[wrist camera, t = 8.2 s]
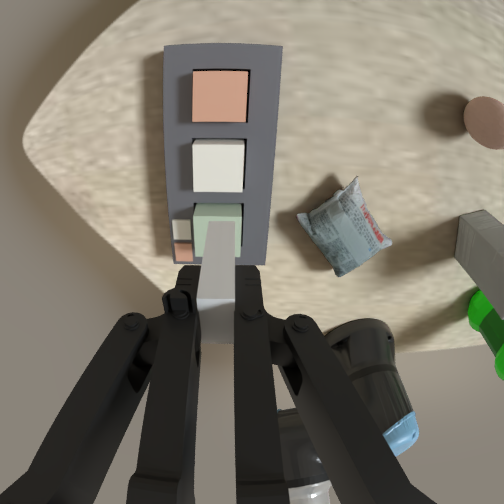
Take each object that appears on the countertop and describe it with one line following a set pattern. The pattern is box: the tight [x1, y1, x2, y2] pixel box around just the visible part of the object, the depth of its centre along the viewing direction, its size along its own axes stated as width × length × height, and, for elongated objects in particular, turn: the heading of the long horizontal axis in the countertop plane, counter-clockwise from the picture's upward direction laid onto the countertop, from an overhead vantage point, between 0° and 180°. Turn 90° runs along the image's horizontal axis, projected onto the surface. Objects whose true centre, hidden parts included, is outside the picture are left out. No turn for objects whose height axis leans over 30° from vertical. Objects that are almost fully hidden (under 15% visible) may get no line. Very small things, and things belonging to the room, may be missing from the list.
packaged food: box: [296, 176, 392, 277], centre depth 35 cm, size 9×12×5 cm
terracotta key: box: [192, 71, 248, 122], centre depth 25 cm, size 5×5×4 cm
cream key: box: [193, 138, 244, 192], centre depth 29 cm, size 5×5×4 cm
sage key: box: [193, 203, 242, 257], centre depth 32 cm, size 5×5×4 cm
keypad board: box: [163, 43, 283, 265], centre depth 30 cm, size 25×11×3 cm, turn 177°
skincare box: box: [455, 210, 504, 320], centre depth 32 cm, size 8×7×16 cm
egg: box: [464, 96, 504, 150], centre depth 24 cm, size 7×7×9 cm
